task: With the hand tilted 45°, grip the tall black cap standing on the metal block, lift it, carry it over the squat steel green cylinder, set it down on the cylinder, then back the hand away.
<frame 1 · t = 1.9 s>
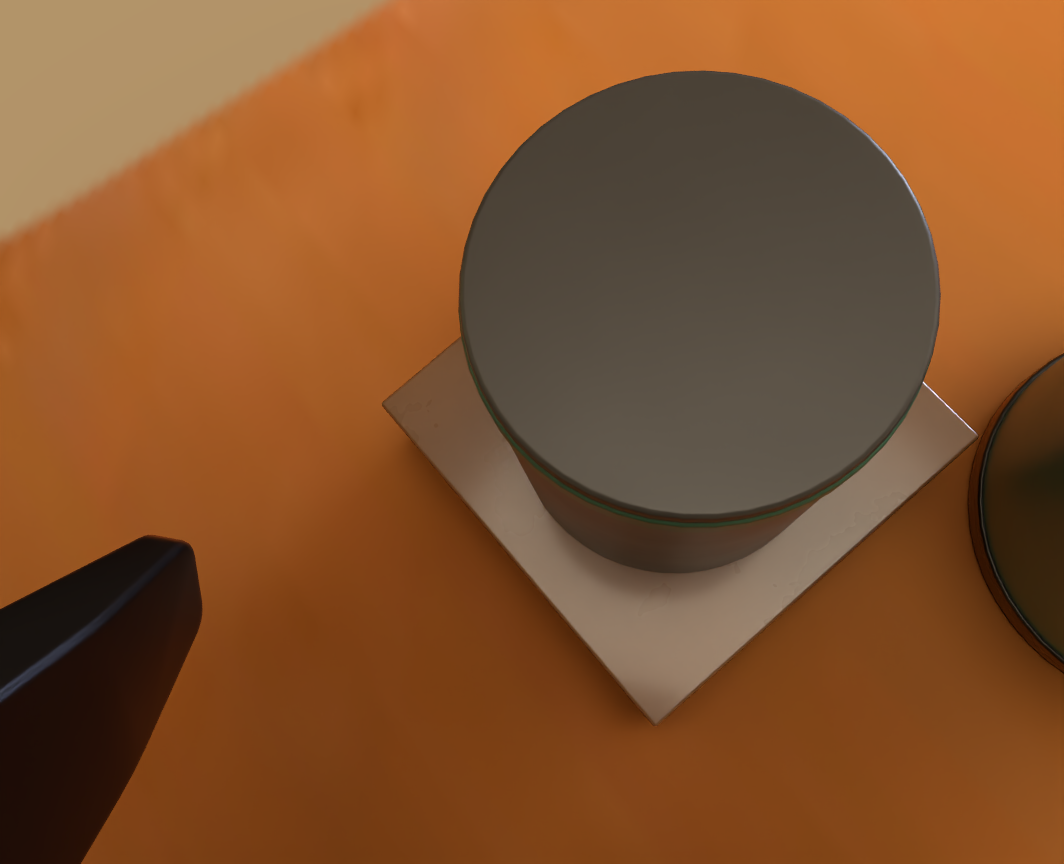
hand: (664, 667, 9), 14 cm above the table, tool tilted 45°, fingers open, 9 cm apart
cap: (670, 419, 20), point 3 cm above the table, touching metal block
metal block: (665, 449, 23), on the table
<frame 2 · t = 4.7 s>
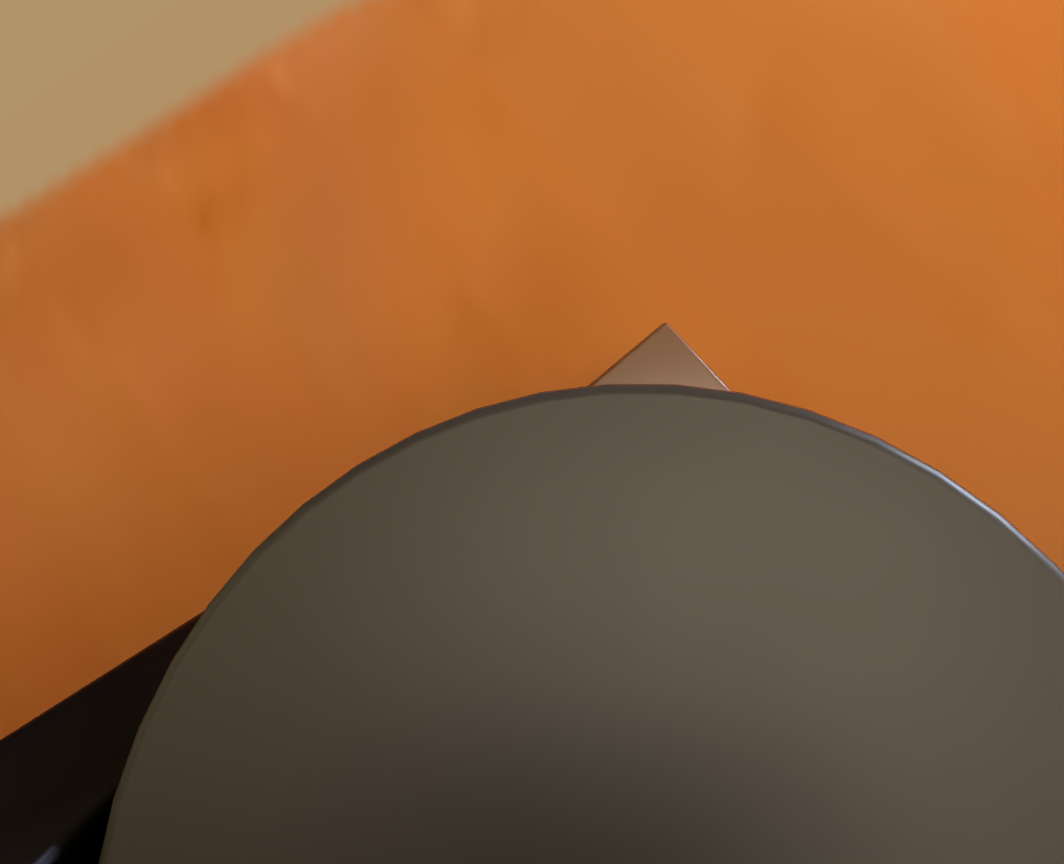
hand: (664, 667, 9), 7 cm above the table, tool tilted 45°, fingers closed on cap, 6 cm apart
cap: (633, 774, 13), point 3 cm above the table, touching gripper, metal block
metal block: (634, 751, 16), on the table
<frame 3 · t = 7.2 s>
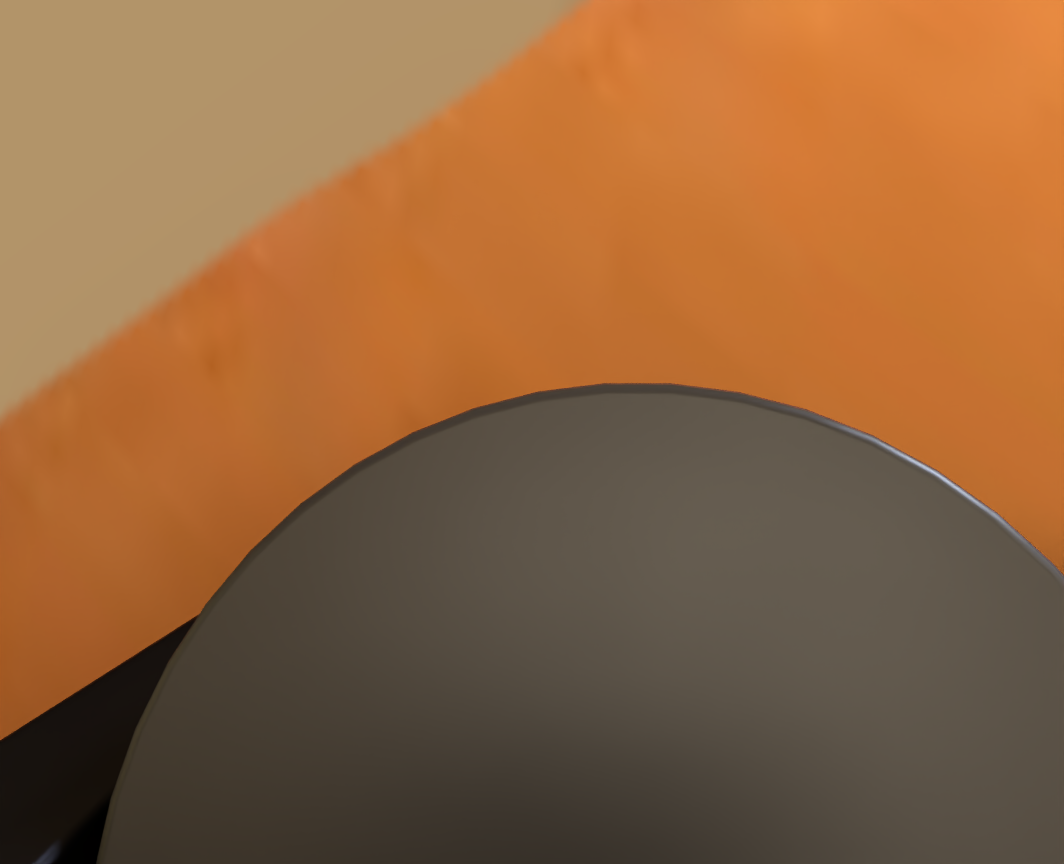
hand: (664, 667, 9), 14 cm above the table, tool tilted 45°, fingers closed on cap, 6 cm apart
cap: (632, 774, 13), point 9 cm above the table, touching gripper
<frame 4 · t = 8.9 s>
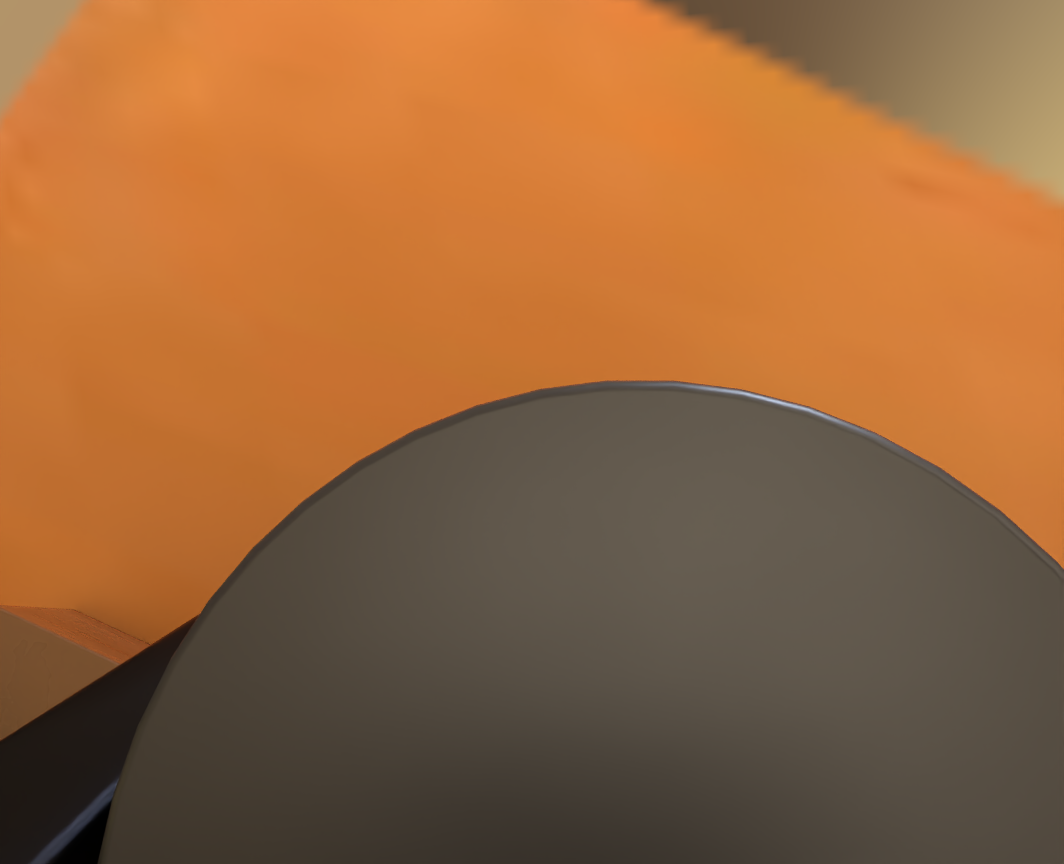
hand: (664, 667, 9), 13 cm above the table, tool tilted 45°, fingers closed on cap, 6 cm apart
cap: (633, 773, 13), point 9 cm above the table, touching gripper
when the fingers open (12 cm above the table, at t = 9.9 s): cap stays where it is, resting on green cylinder.
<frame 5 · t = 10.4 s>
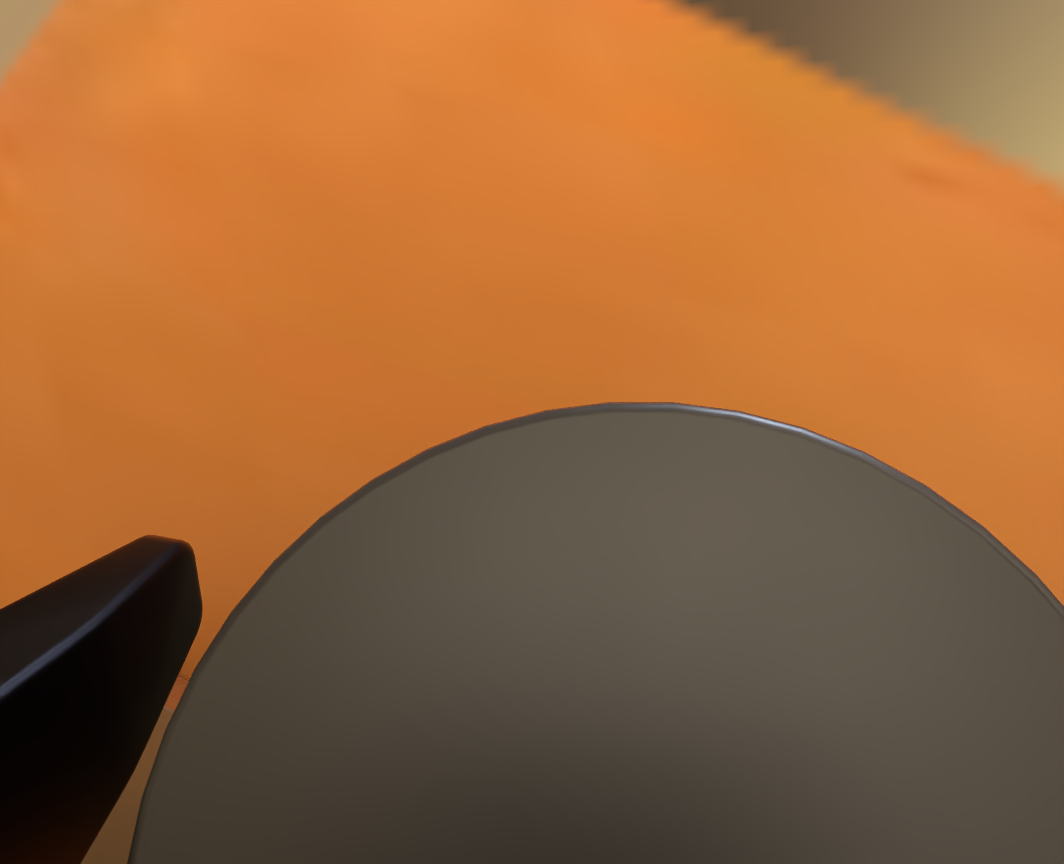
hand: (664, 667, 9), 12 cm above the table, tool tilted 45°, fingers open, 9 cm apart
cap: (634, 774, 13), point 7 cm above the table, touching green cylinder
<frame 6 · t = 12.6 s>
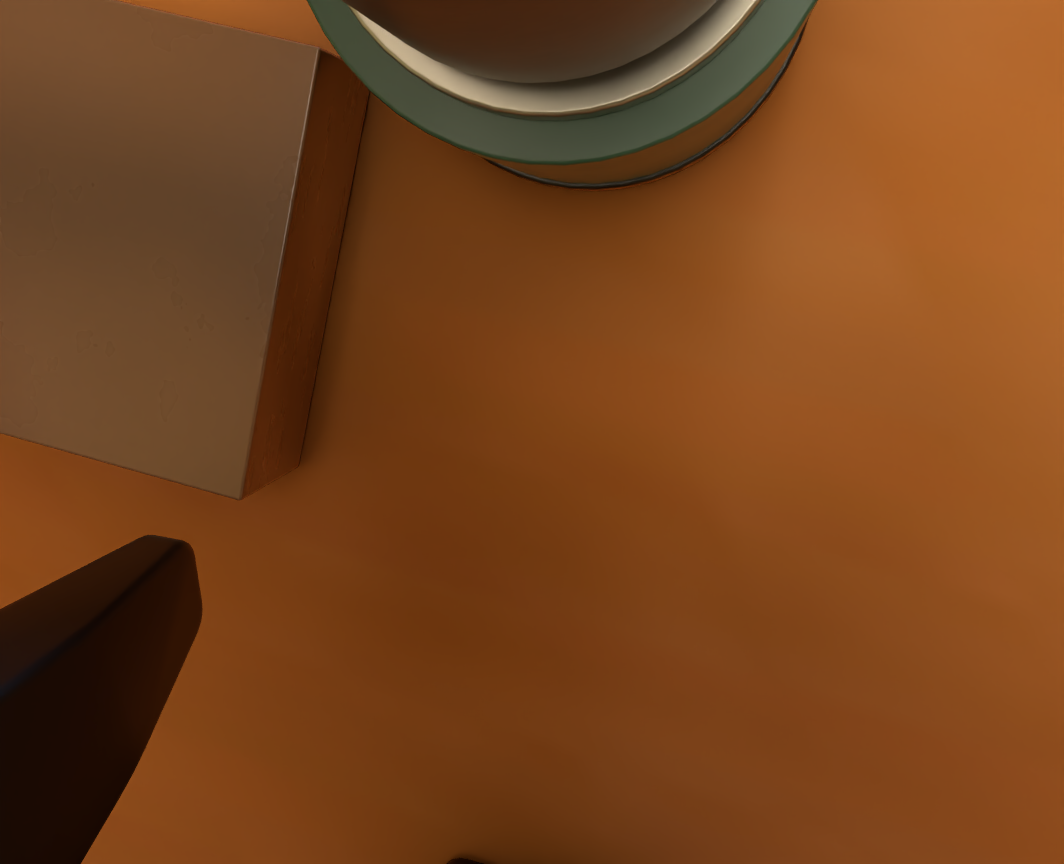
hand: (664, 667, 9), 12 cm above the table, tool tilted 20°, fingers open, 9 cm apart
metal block: (150, 232, 22), on the table
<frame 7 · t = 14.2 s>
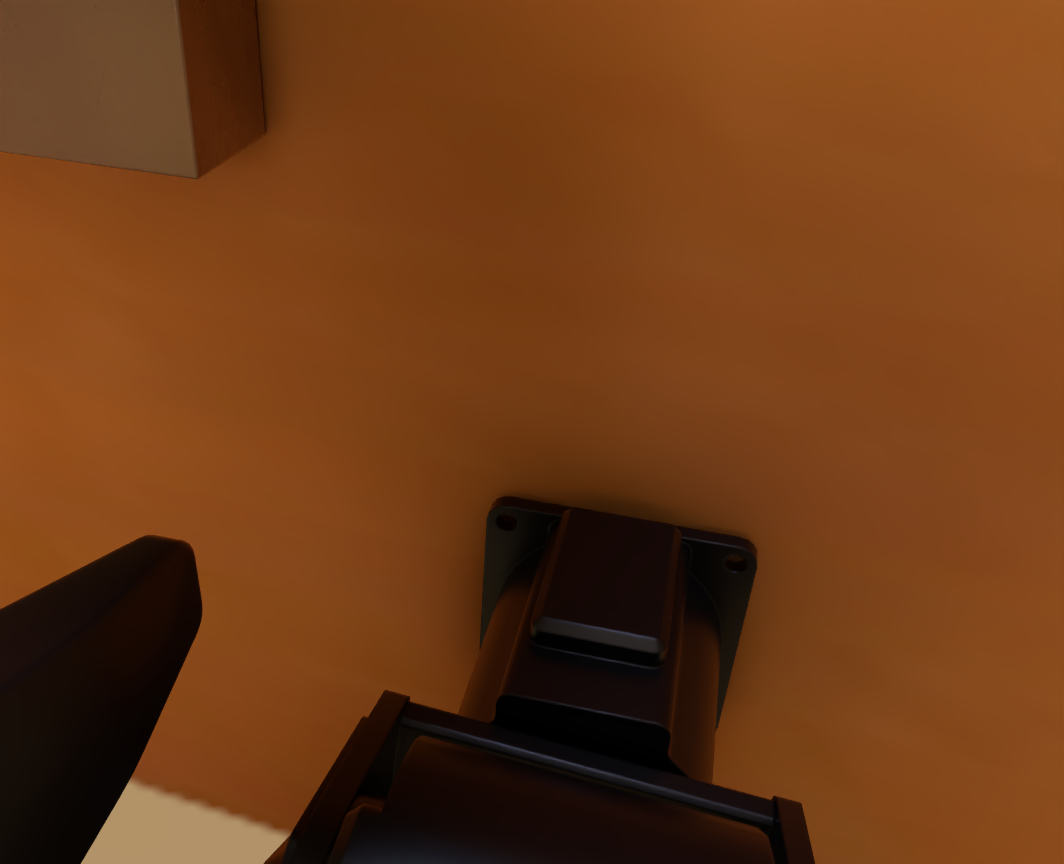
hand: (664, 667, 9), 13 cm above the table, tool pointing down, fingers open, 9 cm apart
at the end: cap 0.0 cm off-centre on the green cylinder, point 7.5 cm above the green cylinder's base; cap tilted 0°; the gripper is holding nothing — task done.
